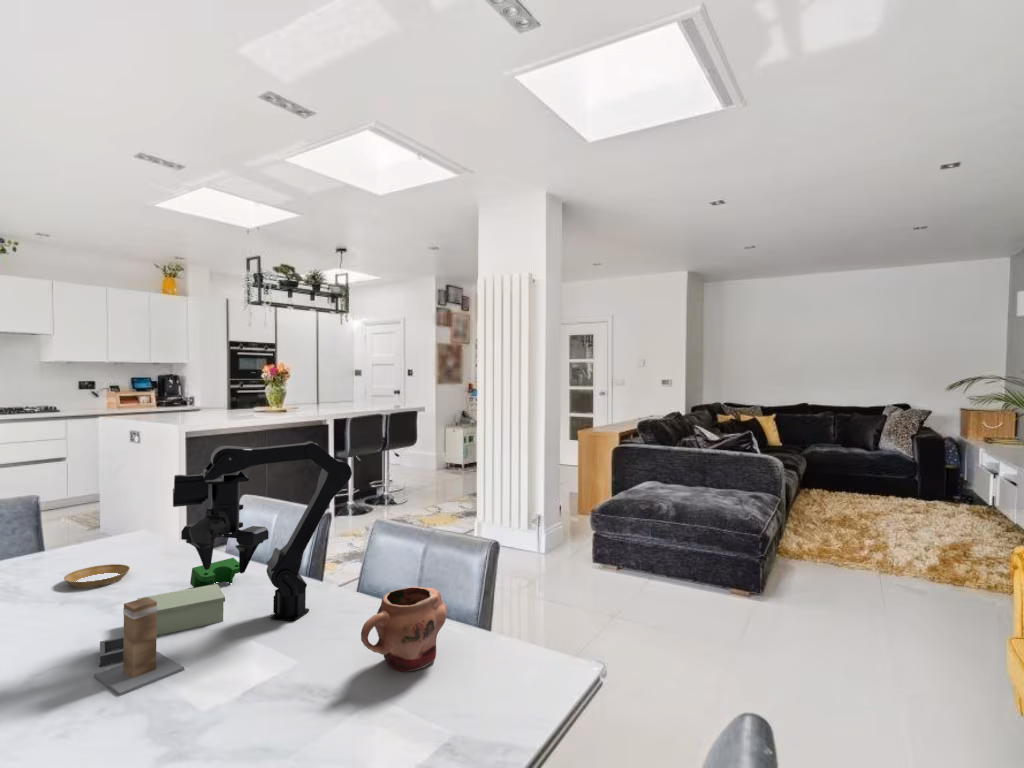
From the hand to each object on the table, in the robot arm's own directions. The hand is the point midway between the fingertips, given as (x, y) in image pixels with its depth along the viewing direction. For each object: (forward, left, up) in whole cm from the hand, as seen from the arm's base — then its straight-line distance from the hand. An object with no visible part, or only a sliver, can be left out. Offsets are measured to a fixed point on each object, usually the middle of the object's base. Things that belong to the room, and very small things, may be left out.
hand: (224, 571), depth 127 cm
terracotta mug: (-46, +5, -13) cm, 48 cm away
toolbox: (+12, -1, -13) cm, 18 cm away
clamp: (+21, -22, -13) cm, 34 cm away
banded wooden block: (+1, +20, -12) cm, 24 cm away
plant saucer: (+55, -17, -14) cm, 59 cm away
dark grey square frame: (+11, +15, -13) cm, 23 cm away
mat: (+1, +20, -13) cm, 24 cm away
